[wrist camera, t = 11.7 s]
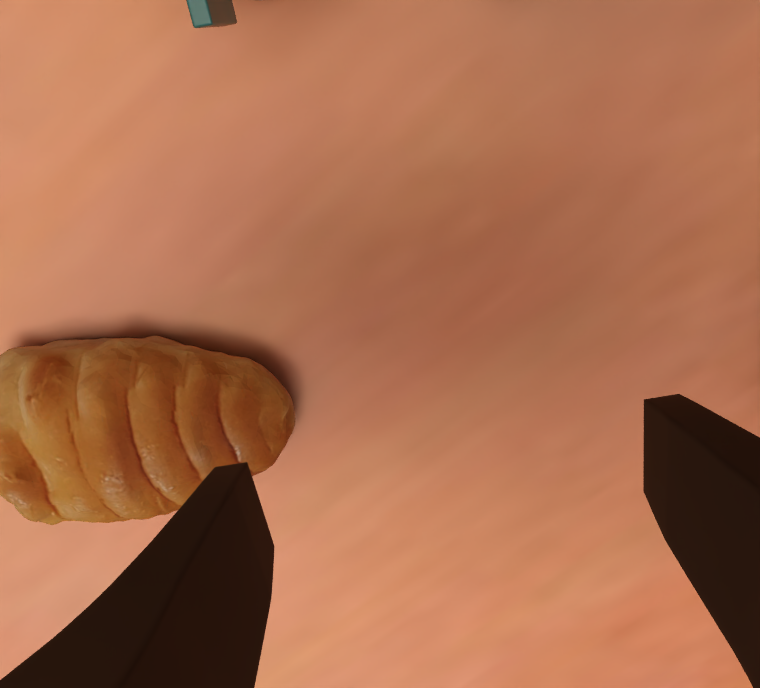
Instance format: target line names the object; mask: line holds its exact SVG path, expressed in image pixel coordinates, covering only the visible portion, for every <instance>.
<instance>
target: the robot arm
mask: <svg viewBox="0 0 760 688" xmlns="http://www.w3.org/2000/svg"><path fill="white" fill-rule="evenodd" d="M644 493H645V495H646V498H647V500H648V502H649V505H650V507H651V509H652V512H653V514H654V516H655V519H656V521H657V523H658V525H659V527H660V530H661V532H662V534H663V536H664V538H665V540H666V542H667V544H668V545H669V547H670V549H671V550H672V552H673V554H674V555H675V557H676V559H677V560H678V562H679V564H680V565H681V567H682V569H683V570H684V572H685V574H686V575H687V577H688V579H689V580H690V582H691V583H692V585H693V587H694V588H695V590H696V591H697V593H698V595H699V596H700V598H701V600H702V601H703V603H704V604H705V606H706V608H707V609H708V611H709V612H710V614H711V616H712V617H713V619H714V621H715V622H716V624H717V625H718V627H719V629H720V630H721V632H722V634H723V635H724V637H725V638H726V640H727V642H728V643H729V645H730V646H731V648H732V650H733V651H734V653H735V655H736V657H737V658H738V660H739V662H740V664H741V666H742V667H743V669H744V671H745V673H746V674H747V676H748V678H749V680H750V682H751V684H752V686H753V688H760V438H759V437H758V436H756V435H754V434H752V433H750V432H748V431H747V430H745V429H743V428H741V427H739V426H737V425H736V424H734V423H732V422H730V421H728V420H727V419H725V418H723V417H721V416H719V415H718V414H716V413H714V412H712V411H710V410H709V409H707V408H705V407H703V406H701V405H699V404H698V403H696V402H694V401H692V400H690V399H688V398H686V397H684V396H682V395H680V394H676V395H669V396H663V397H657V398H650V399H644ZM273 563H274V544H273V541H272V538H271V534H270V531H269V528H268V525H267V522H266V519H265V516H264V513H263V509H262V506H261V503H260V500H259V497H258V494H257V491H256V488H255V485H254V481H253V478H252V475H251V472H250V469H249V466H248V463H247V462H244V463H237V464H231V465H225V466H218V467H215V468H214V469H213V470H212V471H211V472H210V473H209V474H208V475H207V477H206V478H205V479H204V480H203V481H202V482H201V484H200V485H199V486H198V487H197V488H196V490H195V491H194V492H193V493H192V494H191V496H190V497H189V498H188V499H187V500H186V502H185V503H184V504H183V505H182V506H181V508H180V509H179V510H178V511H177V512H176V514H175V515H174V516H173V517H172V518H171V519H170V521H169V522H168V523H167V524H166V525H165V526H164V528H163V529H162V530H161V531H160V532H159V533H158V534H157V536H156V537H155V538H154V539H153V540H152V541H151V543H150V544H149V545H148V546H147V547H146V548H145V549H144V550H143V551H142V552H141V553H140V554H139V555H138V557H137V558H136V559H135V560H134V561H133V562H132V563H131V564H130V565H129V566H128V567H127V568H126V569H125V570H124V571H123V572H122V574H121V575H120V576H119V577H118V578H117V579H116V580H115V581H114V582H113V583H112V584H111V585H110V586H109V587H108V588H107V589H106V590H105V591H104V592H103V593H102V594H101V595H100V596H99V597H98V598H97V599H96V600H95V601H94V602H93V603H92V604H91V605H90V606H88V607H87V608H86V609H85V610H84V611H83V612H82V613H81V614H80V615H79V616H77V617H76V618H75V619H74V620H73V621H72V622H71V623H70V624H69V625H67V626H66V627H65V628H64V629H63V630H62V631H61V632H60V633H58V634H57V635H56V636H55V637H54V638H53V639H51V640H50V641H49V642H48V643H46V644H45V645H44V646H43V647H41V648H40V649H39V650H38V651H36V652H35V653H34V654H33V655H31V656H30V657H29V658H28V659H26V660H25V661H24V662H23V663H21V664H20V665H19V666H18V667H16V668H15V669H14V670H13V671H11V672H10V673H9V674H8V675H6V676H5V677H4V678H2V679H1V680H0V688H254V686H255V681H256V676H257V671H258V665H259V660H260V655H261V650H262V645H263V640H264V634H265V629H266V624H267V618H268V613H269V608H270V602H271V594H272V580H273Z"/></svg>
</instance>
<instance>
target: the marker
mask: <svg viewBox="0 0 760 688" xmlns="http://www.w3.org/2000/svg"><path fill="white" fill-rule="evenodd" d="M186 1H187V4H188V8H189V12H190V16H191V19H192V23H193V26H194V28H205V27H220V26H227V25H232V24H236V23H237V19H236V15H235V11H234V7H233V3H232V0H186ZM261 1H262V0H261Z"/></svg>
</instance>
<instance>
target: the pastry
mask: <svg viewBox="0 0 760 688" xmlns="http://www.w3.org/2000/svg"><path fill="white" fill-rule="evenodd" d="M294 425H295V413H294V406H293V402H292V399H291V397H290V395H289V393H288V392H287V390H286V389H285V388H284V387H283V385H282V384H281V383H280V382H279V381H278V380H277V379H276V377H275V376H274V375H273V374H271V373H270V372H269V371H268V370H267V369H266V368H265V367H264V366H262V365H261V364H259V363H256V362H254V361H253V360H251V359H249V358H245V357H239V356H230V355H227V354H225V353H222V352H219V351H208V350H204V349H201V348H199V347H195V346H190V345H183V344H181V343H180V342H178V341H175V340H172V339H168V338H164V337H161V336H156V335H155V336H149V337H146V338H131V337H124V338H100V339H85V340H78V339H72V340H58V341H53V342H50V343H47V344H45V345H43V346H26V347H16V348H13V349H9V350H7V351H6V352H4V353H3V354H1V355H0V495H1V496H2V497H3V498H4V499H6V500H7V501H8V502H10V503H12V504H14V506H15V508H16V509H17V510H18V512H19V513H20V514H22V515H23V516H24V517H25V518H26V519H28V520H30V521H34V522H38V521H39V522H43V523H47V524H50V525H54V524H57V523H60V522H62V521H83V522H92V523H93V522H103V523H110V522H115V521H127V520H130V519H149V518H152V517H154V516H157V515H166V514H169V513H171V512H173V511H176V510H179V509H180V508H181V506H182V505H183V504H184V503H185V502H186V500H187V499H188V498H189V497H190V496H191V494H192V493H193V492H194V491H195V490H196V488H197V487H198V486H199V485H200V484H201V482H202V481H203V480H204V479H205V478H206V477H207V475H208V474H209V473H210V472H211V471H212V470H213V469H214V468H215V467H218V466H225V465H231V464H237V463H244V462H247V463H248V466H249V469H250V472H251V475H252V476H253V475H256V474H258V473H260V472H263V471H265V470H266V469H268V468H269V467H270V466H272V465H273V464H274V463H275V461H276V460H277V458H278V457H279V455H280V453H281V452H282V450H283V448H284V447H285V445H286V443H287V441H288V439H289V437H290V435H291V434H292V431H293V428H294Z"/></svg>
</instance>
